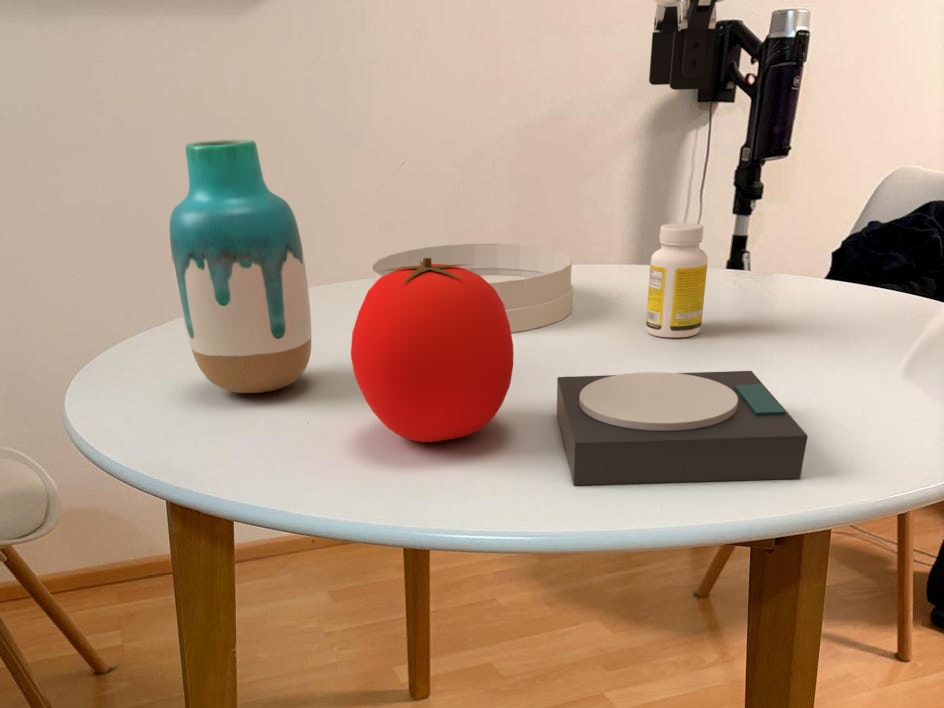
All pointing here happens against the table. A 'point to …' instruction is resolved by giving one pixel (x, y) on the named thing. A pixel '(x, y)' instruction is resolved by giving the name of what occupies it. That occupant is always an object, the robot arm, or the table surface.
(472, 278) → the tomato
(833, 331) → the table surface
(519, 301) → the dish
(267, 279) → the vase
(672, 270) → the supplement bottle
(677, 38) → the robot arm
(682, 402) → the scale
